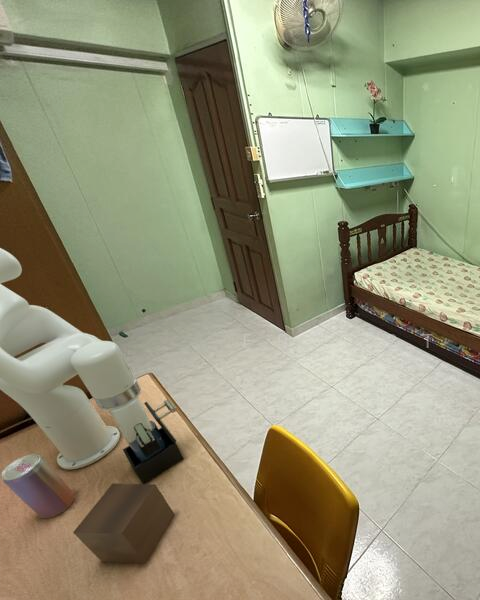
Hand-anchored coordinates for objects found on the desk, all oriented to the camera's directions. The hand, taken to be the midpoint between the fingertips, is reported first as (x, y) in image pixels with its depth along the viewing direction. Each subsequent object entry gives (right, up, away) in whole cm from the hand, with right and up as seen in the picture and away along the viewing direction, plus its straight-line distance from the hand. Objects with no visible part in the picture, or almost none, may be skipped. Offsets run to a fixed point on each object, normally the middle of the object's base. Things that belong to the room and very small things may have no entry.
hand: (148, 443), depth 78 cm
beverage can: (-16, -12, -6) cm, 21 cm away
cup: (0, -3, +2) cm, 4 cm away
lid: (+2, +5, 0) cm, 6 cm away
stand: (+7, -15, -11) cm, 20 cm away
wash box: (0, -6, +4) cm, 7 cm away
